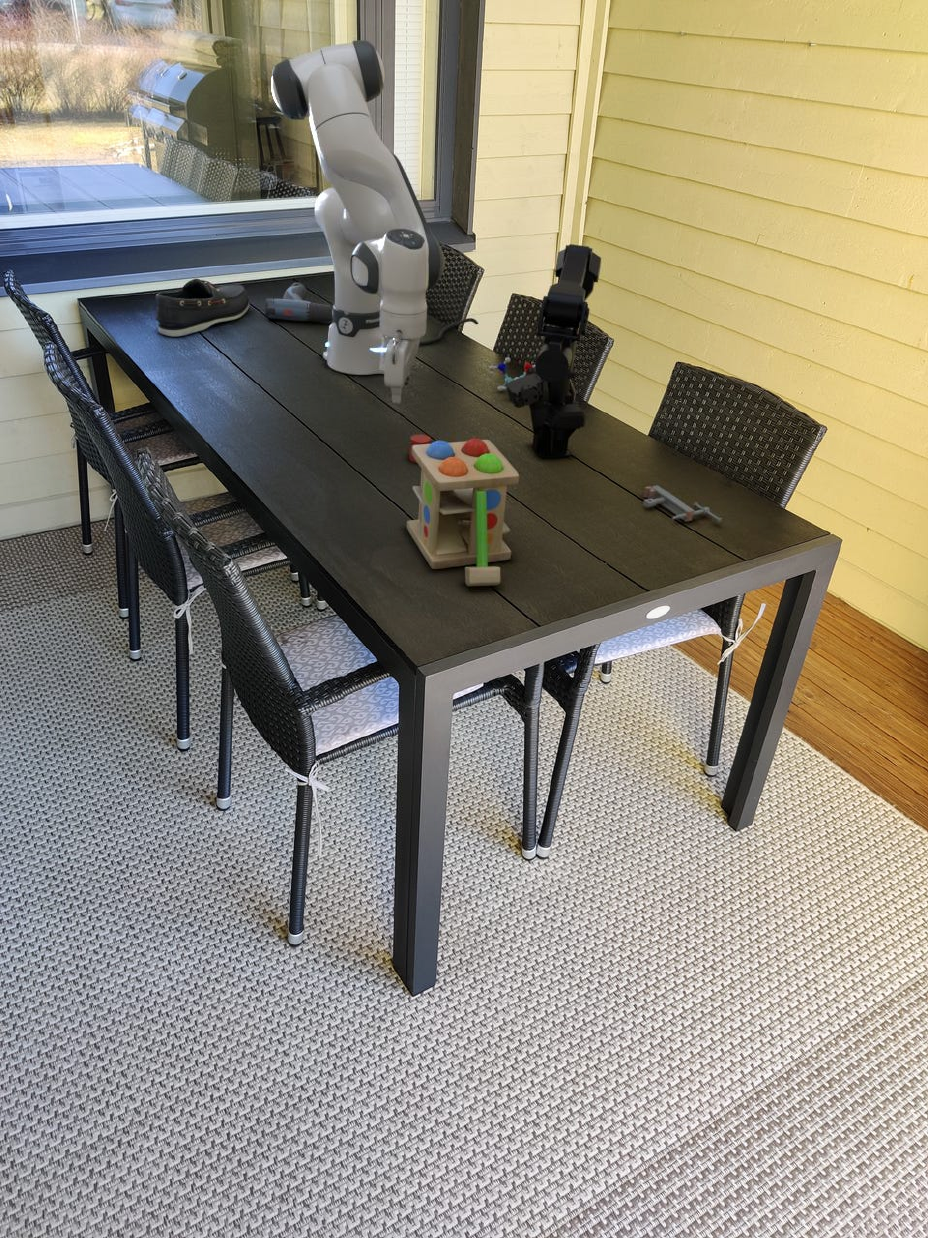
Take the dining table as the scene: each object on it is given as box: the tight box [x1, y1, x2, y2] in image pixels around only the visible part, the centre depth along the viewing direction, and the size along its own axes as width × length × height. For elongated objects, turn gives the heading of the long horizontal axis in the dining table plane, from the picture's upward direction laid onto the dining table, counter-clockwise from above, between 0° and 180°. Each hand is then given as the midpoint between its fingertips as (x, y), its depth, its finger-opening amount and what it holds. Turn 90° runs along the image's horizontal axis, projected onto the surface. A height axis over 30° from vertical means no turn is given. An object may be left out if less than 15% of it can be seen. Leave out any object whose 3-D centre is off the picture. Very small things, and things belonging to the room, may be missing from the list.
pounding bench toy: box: [406, 438, 520, 587], centre depth 162 cm, size 23×14×18 cm, turn 20°
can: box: [409, 433, 432, 464], centre depth 196 cm, size 4×4×4 cm
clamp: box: [643, 484, 723, 524], centre depth 186 cm, size 15×2×10 cm
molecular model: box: [489, 356, 535, 392], centre depth 228 cm, size 12×10×10 cm
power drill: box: [264, 282, 333, 322], centre depth 265 cm, size 5×19×20 cm
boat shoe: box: [155, 278, 250, 337], centre depth 253 cm, size 13×33×10 cm, turn 147°
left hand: (400, 392), depth 193 cm, fingers open, 8 cm apart
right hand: (545, 443), depth 184 cm, fingers open, 9 cm apart
